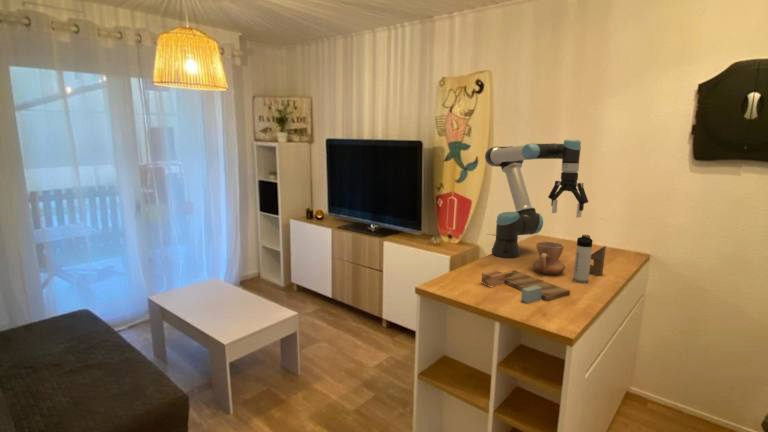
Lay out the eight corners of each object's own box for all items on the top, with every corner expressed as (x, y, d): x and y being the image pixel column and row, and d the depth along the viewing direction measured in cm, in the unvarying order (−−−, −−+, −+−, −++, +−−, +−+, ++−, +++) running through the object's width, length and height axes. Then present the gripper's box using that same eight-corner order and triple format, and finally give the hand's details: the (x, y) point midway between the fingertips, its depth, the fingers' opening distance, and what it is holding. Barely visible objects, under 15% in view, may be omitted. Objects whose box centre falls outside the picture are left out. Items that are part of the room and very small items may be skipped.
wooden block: (599, 276, 192) (604, 239, 189) (576, 270, 200) (580, 235, 197) (602, 274, 195) (607, 238, 191) (579, 269, 203) (583, 234, 199)
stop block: (521, 300, 163) (522, 288, 162) (534, 296, 167) (535, 285, 166) (527, 303, 160) (528, 291, 159) (541, 299, 164) (542, 287, 163)
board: (492, 278, 188) (493, 274, 187) (514, 273, 195) (514, 270, 194) (547, 301, 162) (547, 296, 162) (569, 294, 169) (570, 290, 169)
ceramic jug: (539, 264, 209) (541, 238, 206) (569, 270, 199) (571, 242, 196) (525, 274, 196) (527, 245, 193) (556, 280, 186) (558, 251, 183)
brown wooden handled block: (481, 283, 182) (482, 272, 181) (506, 277, 190) (507, 267, 189) (491, 287, 177) (491, 276, 176) (516, 281, 185) (517, 271, 184)
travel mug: (587, 278, 188) (591, 237, 185) (589, 283, 182) (593, 240, 178) (572, 277, 190) (576, 235, 187) (573, 281, 184) (578, 239, 180)
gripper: (543, 170, 205) (539, 211, 209) (589, 173, 184) (584, 219, 188) (552, 170, 209) (549, 210, 213) (599, 173, 188) (594, 218, 192)
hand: (566, 215), depth 201 cm, fingers open, 13 cm apart
